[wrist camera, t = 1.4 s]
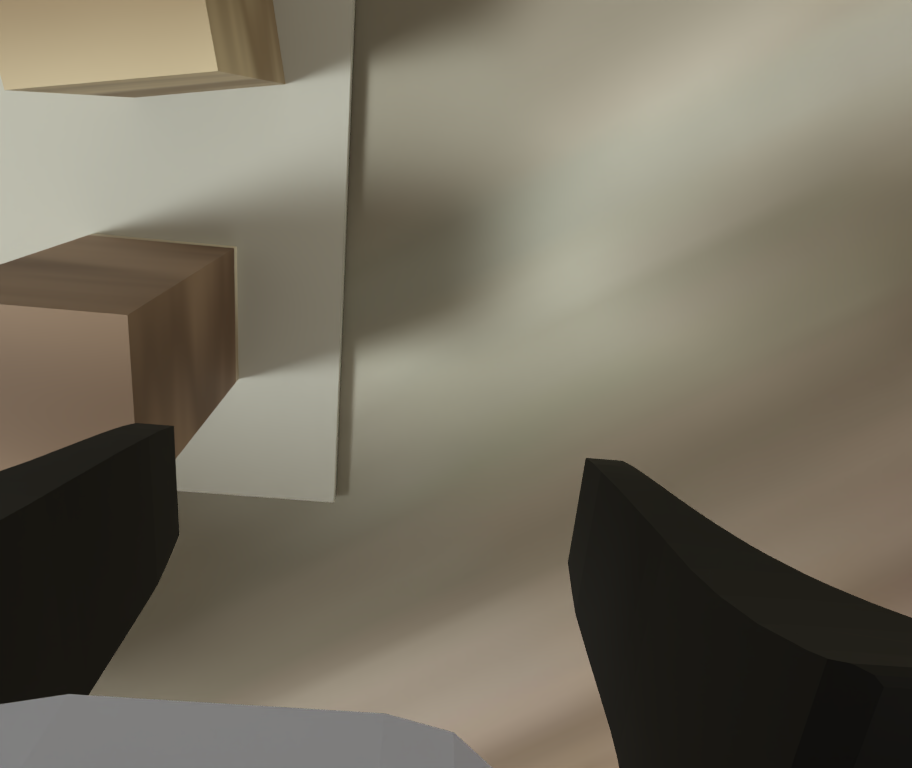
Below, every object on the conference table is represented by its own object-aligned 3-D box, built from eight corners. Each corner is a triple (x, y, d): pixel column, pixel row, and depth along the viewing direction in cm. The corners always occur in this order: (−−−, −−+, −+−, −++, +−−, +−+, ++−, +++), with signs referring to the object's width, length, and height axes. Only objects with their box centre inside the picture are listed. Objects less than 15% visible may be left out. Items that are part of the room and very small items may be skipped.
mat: (335, 496, 24) (333, 502, 23) (-169, 458, 23) (-180, 464, 23) (361, -159, 17) (359, -165, 17) (-329, -238, 17) (-347, -246, 16)
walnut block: (238, 379, 22) (140, 503, 15) (103, 367, 22) (-61, 489, 15) (236, 246, 20) (127, 314, 13) (92, 233, 20) (-95, 295, 13)
